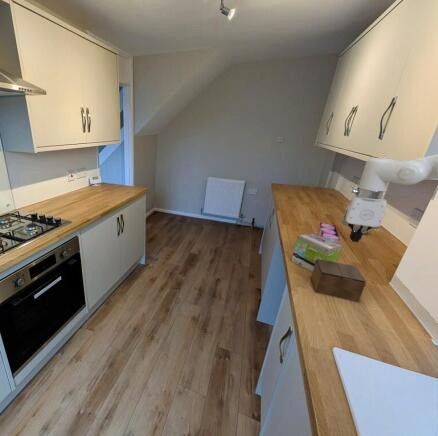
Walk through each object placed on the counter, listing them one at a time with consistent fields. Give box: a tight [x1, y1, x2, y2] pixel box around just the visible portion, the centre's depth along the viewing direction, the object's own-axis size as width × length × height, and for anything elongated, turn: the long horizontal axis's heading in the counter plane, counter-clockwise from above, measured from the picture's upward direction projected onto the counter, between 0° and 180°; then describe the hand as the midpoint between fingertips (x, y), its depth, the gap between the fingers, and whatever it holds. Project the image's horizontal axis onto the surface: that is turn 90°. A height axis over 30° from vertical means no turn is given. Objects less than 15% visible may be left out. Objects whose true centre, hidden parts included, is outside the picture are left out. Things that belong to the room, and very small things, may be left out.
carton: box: [310, 259, 367, 303], centre depth 97 cm, size 14×12×10 cm
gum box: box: [316, 222, 341, 245], centre depth 127 cm, size 24×8×14 cm, turn 147°
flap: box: [336, 262, 367, 283], centre depth 94 cm, size 7×12×1 cm, turn 155°
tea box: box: [291, 232, 343, 273], centre depth 113 cm, size 15×10×15 cm, turn 21°
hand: (354, 240), depth 90 cm, fingers closed
